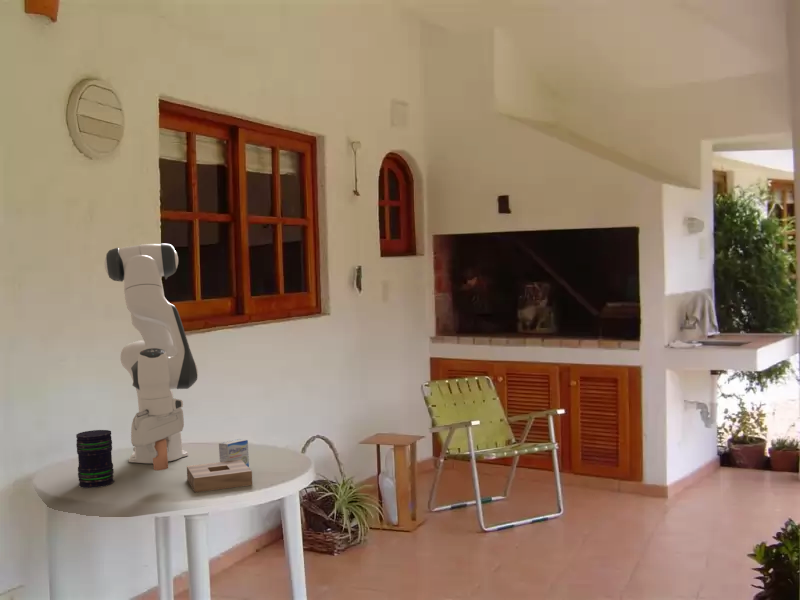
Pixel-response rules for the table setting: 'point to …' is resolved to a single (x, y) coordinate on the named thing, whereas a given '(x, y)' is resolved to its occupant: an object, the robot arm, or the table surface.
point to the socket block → (219, 475)
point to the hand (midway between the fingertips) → (159, 454)
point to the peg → (161, 455)
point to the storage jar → (95, 458)
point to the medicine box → (234, 451)
